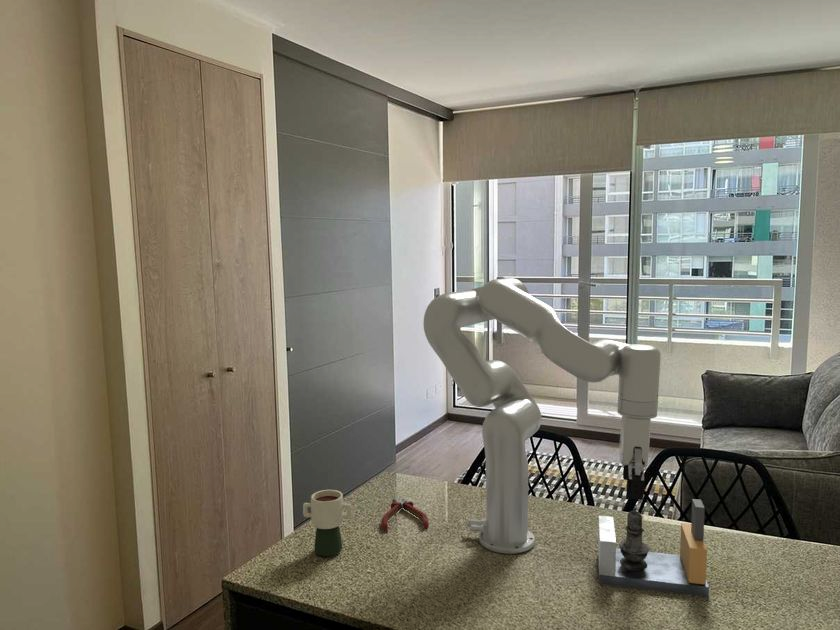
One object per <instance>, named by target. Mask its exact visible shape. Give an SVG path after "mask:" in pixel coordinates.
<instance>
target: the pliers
mask: <svg viewBox="0 0 840 630" xmlns="http://www.w3.org/2000/svg"><path fill="white" fill-rule="evenodd" d="M401 508H404V509H405V510H407V511H409V512H410V513H412V514H413V515H415V516H416V517H418V518H419V519H420V520H421V521H422V522H423V523H422V522H421V521H420V520H419V521H420V522H421V523H422V527H423V526H424V528H423V530H424V529H426V528H428V529H429V526H430V524H429V518H428V516H427V515H426V513H424V512H423V511H422V510H420V509H418V508H416V507H415V506H414V502H412V501H408V499H407V495H406V494H404V496H403V497H402V501H401V500H400V498H399V497H398V496H397V495H396V494H394V502H391V504H390V510H389V511H387V512H386V513H385V514H384V515H383V516H382V518H381V520H380V521H381V522H380V523H381V528H382V531H383V530H384V531H388V532H389V527H388V524H389V522H388V520H389V519H390V518H391V517H392V516H393V515H395V514H396V513H397V512H398V511H399V510H400V509H401ZM387 522H388V524H387ZM426 530H427V529H426ZM384 531H383V532H384Z"/></svg>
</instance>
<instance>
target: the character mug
mask: <svg viewBox="0 0 840 630" xmlns="http://www.w3.org/2000/svg"><path fill="white" fill-rule="evenodd" d="M343 495H344V494H343V493H342V492H341V491H339V490H336V489H323V490H319V491H316V492H314V493H313V494H311V495H310V502H304V503H303V505H302V515H303V517H304V518H311V524H312V526H313V527H314V528H316V529H315V538H314V548H313V549H314V551H313V552H315V553H316V554H317V555H319V556H321V557H329V556H334V555H336V554H338V553H339V552H341V551H342V549H343V541H342V535H341V534H342V533H341V530H340V529H341V527H340V526H341V525H342V523H343V521H344V519H350V518H352V516H353V514H352V513H353V512H352V511H353V509H352V508H353V507H352V504H351V503H344V499H343V497H344V496H343ZM308 508H310V512H308ZM344 509H347V511H346V513H344Z"/></svg>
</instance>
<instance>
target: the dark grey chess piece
mask: <svg viewBox="0 0 840 630" xmlns="http://www.w3.org/2000/svg"><path fill="white" fill-rule="evenodd" d="M626 516H627V517H626V518H627V519H626V526H625V527H624V528H625V529H624V530H625V531H626V537H625V540H622V541H620V542H619V544H618V548H619V549H620V550H621V553H622V555H623V556H624V558H622V559H621V560H620V563H621V565H622V566H624V567H626V568H628V569H632V570H643V569H646V568H647V563H646V562H645V561H644V559H645V558H646V556H647V554H648V552H650V547H649V545H647V544H646V543H644V542H643V533H644V531H645V530H644V528H643V515H642V513H640V512H639V511H638V510H637V507H635V506H634V507H633V509H632V510H630V511H629V512H628V513H627V515H626Z"/></svg>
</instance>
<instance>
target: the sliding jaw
mask: <svg viewBox="0 0 840 630" xmlns="http://www.w3.org/2000/svg"><path fill="white" fill-rule="evenodd" d="M690 522H691V523H680V544H679V545H680V547H679V555H680V557H681V560H682V563H683V566H684V569H685V572H686V575H687V579H688V582H689V583H696V584H705V585H706V581H707V561H708V560H707V558H708V557H707V555H708V549H707V547H706V544H705V542H704V541H705V540H704V538H705V536H704V535H705V533H704V532H705V506H704V504H703V500H702V499H696V498H691V521H690Z"/></svg>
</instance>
